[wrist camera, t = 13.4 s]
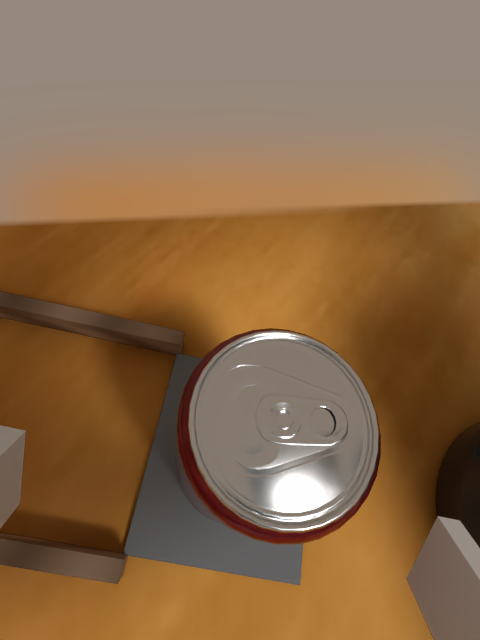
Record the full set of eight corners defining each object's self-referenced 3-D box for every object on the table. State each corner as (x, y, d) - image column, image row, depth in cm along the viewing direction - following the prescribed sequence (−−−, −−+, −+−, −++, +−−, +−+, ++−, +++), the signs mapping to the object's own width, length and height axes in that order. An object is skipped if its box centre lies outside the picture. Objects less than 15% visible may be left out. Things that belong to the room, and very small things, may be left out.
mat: (311, 384, 26) (313, 382, 26) (297, 583, 20) (300, 585, 20) (176, 355, 25) (177, 353, 25) (123, 553, 20) (122, 554, 19)
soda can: (164, 516, 20) (153, 532, 10) (186, 393, 24) (196, 306, 13) (287, 530, 21) (401, 559, 10) (291, 409, 24) (380, 338, 14)
